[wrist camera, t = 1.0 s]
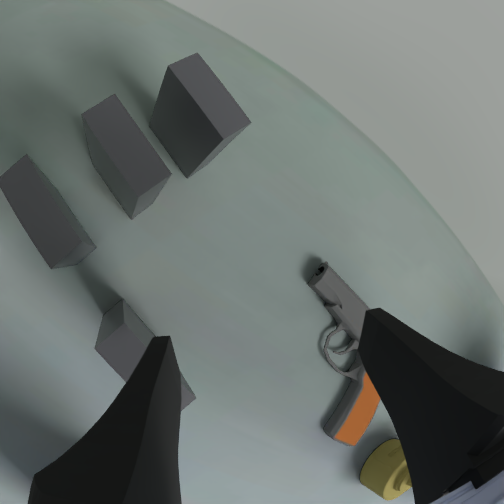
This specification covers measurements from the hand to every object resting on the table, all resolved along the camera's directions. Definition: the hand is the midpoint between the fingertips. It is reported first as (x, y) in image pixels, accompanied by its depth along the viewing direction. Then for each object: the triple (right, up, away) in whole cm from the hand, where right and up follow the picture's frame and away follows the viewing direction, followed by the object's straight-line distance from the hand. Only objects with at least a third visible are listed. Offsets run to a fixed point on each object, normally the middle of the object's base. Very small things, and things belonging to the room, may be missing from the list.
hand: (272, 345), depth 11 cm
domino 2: (-9, +8, +9) cm, 15 cm away
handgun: (+7, -7, +16) cm, 19 cm away
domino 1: (-13, +5, +7) cm, 15 cm away
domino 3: (-8, -2, +9) cm, 12 cm away
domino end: (-6, +11, +10) cm, 16 cm away
